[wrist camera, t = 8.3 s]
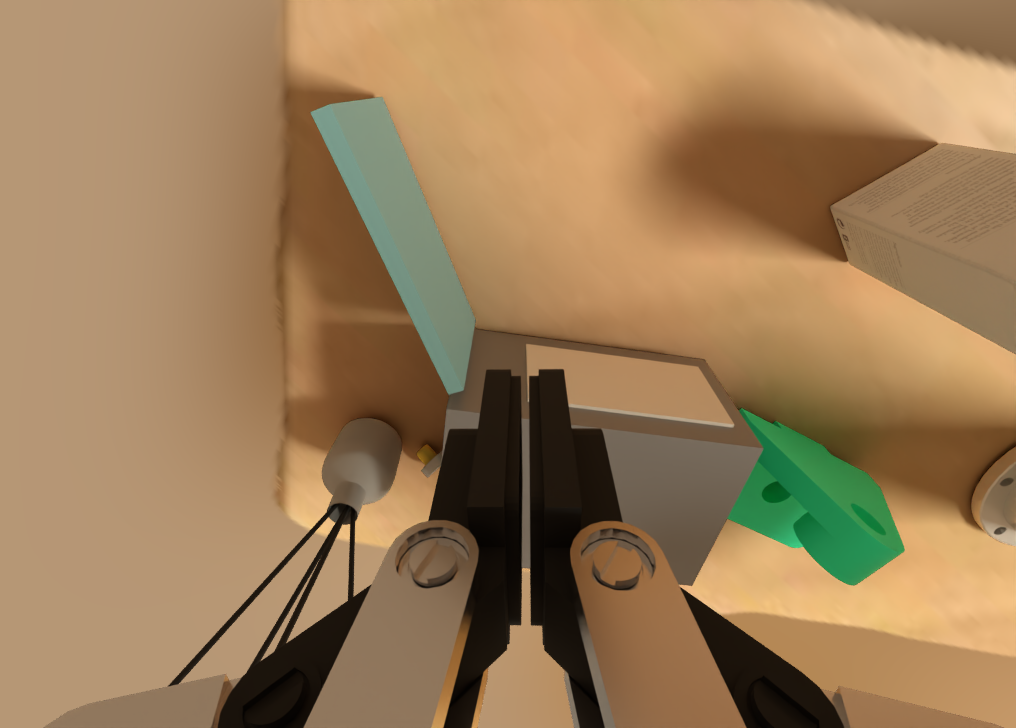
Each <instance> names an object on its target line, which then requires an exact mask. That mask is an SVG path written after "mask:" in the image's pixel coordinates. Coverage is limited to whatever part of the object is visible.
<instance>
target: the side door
mask: <svg viewBox="0 0 1016 728" xmlns="http://www.w3.org/2000/svg"><path fill="white" fill-rule="evenodd" d="M310 113H311V115H312V117H313V119H314V121H315V123H316V125H317V127H318V129H319V131H320V133H321V135H322V137H323V139H324V141H325V143H326V146H327V148H328V150H329V152H330V154H331V156H332V158H333V160H334V162H335V164H336V166H337V168H338V170H339V172H340V174H341V176H342V178H343V180H344V182H345V184H346V186H347V188H348V190H349V192H350V195H351V197H352V199H353V201H354V203H355V205H356V207H357V209H358V211H359V213H360V215H361V217H362V219H363V221H364V223H365V225H366V227H367V229H368V231H369V233H370V235H371V237H372V239H373V241H374V244H375V246H376V248H377V250H378V252H379V254H380V256H381V258H382V260H383V262H384V264H385V266H386V268H387V270H388V272H389V274H390V276H391V278H392V280H393V282H394V284H395V286H396V288H397V291H398V293H399V295H400V297H401V299H402V301H403V303H404V305H405V307H406V309H407V311H408V313H409V315H410V317H411V319H412V321H413V323H414V325H415V327H416V329H417V331H418V333H419V335H420V337H421V340H422V342H423V344H424V346H425V348H426V350H427V352H428V354H429V356H430V358H431V360H432V362H433V364H434V366H435V368H436V370H437V372H438V374H439V376H440V378H441V380H442V382H443V384H444V386H445V389H446V391H447V393H448V395H449V394H453V393H456V392H460V391H463V390H464V386H465V380H466V374H467V368H468V363H469V357H470V351H471V345H472V339H473V333H474V328H475V322H476V319H475V317H474V315H473V312H472V310H471V307H470V305H469V303H468V300H467V298H466V295H465V293H464V291H463V288H462V286H461V284H460V281H459V279H458V276H457V274H456V272H455V269H454V267H453V264H452V262H451V260H450V257H449V255H448V252H447V250H446V248H445V245H444V243H443V240H442V238H441V236H440V233H439V231H438V229H437V226H436V224H435V221H434V219H433V217H432V214H431V212H430V209H429V207H428V205H427V202H426V200H425V197H424V195H423V193H422V190H421V188H420V186H419V183H418V181H417V178H416V176H415V174H414V171H413V169H412V166H411V164H410V162H409V159H408V157H407V154H406V152H405V150H404V147H403V145H402V143H401V140H400V138H399V135H398V133H397V131H396V128H395V126H394V123H393V121H392V119H391V116H390V114H389V111H388V109H387V107H386V104H385V102H384V99H383V97H378V98H371V99H363V100H356V101H349V102H342V103H334V104H329V105H326V106H324V107H322V108H319V109H317V110H315V111H312V112H310Z"/></svg>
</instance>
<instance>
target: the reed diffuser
mask: <svg viewBox="0 0 1016 728" xmlns="http://www.w3.org/2000/svg"><path fill="white" fill-rule="evenodd" d="M401 451H402V442H401V439H400V436H399V435H398V433H397V432H396V431H395V430H394V429H393V428H392V427H391V426H390V425H388V424H387V423H385V422H383V421H380V420H377V419H373V418H360V419H355V420H353V421H351V422H349V423H347V424H346V425H345V426H344V427H343V428H342V430H341V432H340V433H339V435H338V437H337V439H336V440H335V442H334V444H333V445H332V447H331V449H330V451H329V453H328V454H327V456H326V458H325V461H324V464H323V467H322V479H323V482H324V485H325V486H326V488H327V489H328V491H329V492H330V493H331V494H332V495H333V497H332V499H331V502H330V504H329V507H328V509H327V513H326V514H325V515H324V516H323V517H322V518H321V519H320V520H319V521H318V522H317V523H316V525H315V526H314V527H313V528H312V529H311V530H310V531H309V532H308V533H307V534H306V536H305V537H304V538H303V539H302V540H301V541H300V542H299V543H298V544H297V546H295V548H294V549H293V550H292V551H291V552H290V553H289V554H288V555H287V556H286V557H285V559H284V560H283V561H282V562H281V563H280V564H279V565H278V566H277V567H276V569H275V570H274V571H273V572H272V573H271V574H270V575H269V576H268V577H267V578H266V579H265V580H264V582H263V583H262V584H261V585H260V586H259V587H258V588H257V589H256V590H255V591H254V593H253V594H252V595H251V596H250V597H249V598H248V599H247V600H246V602H244V604H243V605H242V606H241V607H240V608H239V609H238V610H237V611H236V612H235V613H234V615H233V616H232V617H231V618H230V619H229V620H228V621H227V622H226V623H225V624H224V626H223V627H222V628H221V629H220V630H219V631H218V632H217V633H216V634H215V635H214V636H213V638H212V639H211V640H210V641H209V642H208V643H207V644H206V645H205V646H204V647H203V648H202V650H201V651H200V652H199V653H198V654H197V655H196V656H195V657H194V658H193V659H192V660H191V662H190V663H189V664H188V665H187V666H186V667H185V668H184V669H183V670H182V671H181V673H180V674H179V675H178V676H177V677H176V678H175V679H174V680H173V681H172V683H171V684H170V685H169V686H173V685H178V684H179V683H180V682H181V681H182V680H183V678H184V677H185V676H186V675H187V674H188V673H189V672H190V671H191V669H193V667H194V666H195V665H196V664H197V663H198V662H199V661H200V660H201V658H202V657H203V656H204V655H205V654H206V653H207V652H208V651H209V649H210V648H211V647H212V646H213V645H214V644H215V643H216V642H217V641H218V640H219V638H220V637H221V636H222V635H223V634H224V633H225V632H226V631H227V629H228V628H229V627H230V626H231V625H232V624H233V623H234V622H235V621H236V619H237V618H238V617H239V616H240V615H241V614H242V613H243V612H244V611H245V609H246V608H247V607H248V606H249V605H250V604H251V603H252V602H253V601H254V599H255V598H256V597H257V596H258V595H259V594H260V592H262V590H263V589H264V588H265V587H266V586H267V585H268V584H269V583H270V582H271V580H272V579H273V578H274V577H275V576H276V575H277V574H278V573H279V571H280V570H281V569H282V568H283V567H284V566H285V565H286V564H287V563H288V561H289V560H290V559H291V558H292V557H293V556H294V555H295V554H296V553H297V551H298V550H299V549H300V548H301V547H302V546H303V545H304V544H305V543H306V541H307V540H308V539H309V538H310V537H311V536H312V535H313V534H314V532H315V531H316V530H317V529H318V528H319V527H320V526H321V525H322V524H323V522H324V521H325V520H326V519H327V518H328V517H329V518H330V519H331V520H332V521H334V522H336V523H335V525H334V526H333V528H332V530H331V532H330V533H329V535H328V537H327V538H326V540H325V542H324V543H323V545H322V547H321V548H320V550H319V552H318V553H317V555H316V557H315V558H314V560H313V562H312V563H311V565H310V567H309V568H308V570H307V572H306V574H305V575H304V577H303V579H302V580H301V582H300V584H299V585H298V587H297V589H296V591H295V592H294V594H293V595H292V597H291V599H290V601H289V602H288V604H287V605H286V607H285V609H284V610H283V612H282V614H281V616H280V617H279V619H278V621H277V622H276V624H275V626H274V627H273V629H272V631H271V632H270V634H269V636H268V638H267V639H266V641H265V642H264V644H263V646H262V648H261V649H260V651H259V652H258V654H257V656H256V658H255V659H254V661H253V663H252V664H251V666H250V668H249V669H248V671H250V670H251V669H252V668H253V667H254V666H255V665H257V664H258V663H259V662H260V661H261V659H262V657H263V656H264V654H265V652H266V650H267V649H268V647H269V645H270V644H271V642H272V640H273V638H274V637H275V635H276V633H277V631H278V630H279V628H280V626H281V625H282V623H283V621H284V619H285V618H286V616H287V614H288V613H289V611H290V609H291V607H292V606H293V604H294V602H295V600H296V599H297V597H298V595H299V594H300V592H301V590H302V588H303V587H304V585H305V583H306V582H307V580H308V578H309V577H310V575H311V573H312V571H313V570H314V568H315V566H316V564H317V562H318V561H319V562H318V564H317V566H316V569H315V571H314V573H313V574H312V577H311V578H310V581H309V583H308V585H307V587H306V589H305V591H304V593H303V595H302V597H301V599H300V601H299V603H298V605H297V607H296V609H295V611H294V613H293V615H292V617H291V619H290V621H289V623H288V625H287V627H286V629H285V631H284V633H283V635H282V637H281V639H280V641H279V643H278V645H277V647H276V649H275V651H276V650H278V649H279V648H281V647H282V646H283V645H285V644H286V642H287V640H288V638H289V636H290V633H291V631H292V629H293V627H294V625H295V623H296V621H297V619H298V616H299V614H300V612H301V610H302V608H303V606H304V604H305V602H306V600H307V598H308V595H309V593H310V591H311V589H312V587H313V585H314V583H315V581H316V579H317V577H318V574H319V572H320V570H321V568H322V566H323V564H324V562H325V560H326V558H327V556H328V553H329V551H330V549H331V547H332V545H333V543H334V541H335V539H336V537H337V535H338V532H339V530H340V528H341V526H342V524H343V525H347V524H350V553H349V585H348V600H350V599H351V598H353V591H354V590H353V589H354V546H355V521H356V519H357V517H358V515H359V512H360V510H361V507H362V505H365V504H370V503H373V502H376V501H378V500H380V499H381V498H382V497H384V496H385V495H386V494H387V493H388V491H389V490H390V488H391V486H392V484H393V481H394V479H395V475H396V471H397V467H398V464H399V460H400V455H401ZM442 451H443V450H442ZM442 451H441V452H440V453H439V454H436V453H435V452H434V451H433V449H432V448H431V447H430V446H429V445H425V446H423V447H422V448H421V449H420V450H419V451H418V452H417V456H418V458H419V459H420V460H421V461H422V462H423V463H424V464H425V465H426V466H425V467H424V468H423V469H422V470H421V471H422V472H423V473H424V474H425V476H426V477H427V478H428V477H429V476H430V475H431V474H433V473H434V472H435V471H436V470H437V469H438V468H439V467H440V466H441V461H442ZM319 559H320V560H319ZM275 651H274V652H275ZM248 671H247V672H248Z"/></svg>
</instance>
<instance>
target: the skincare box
mask: <svg viewBox="0 0 1016 728" xmlns="http://www.w3.org/2000/svg"><path fill="white" fill-rule="evenodd" d="M830 209H831V212H832V215H833V218H834V221H835V224H836V226H837V229H838V232H839V235H840V238H841V241H842V244H843V247H844V250H845V252H846V255H847V259H848V261H849V263H850V265H852V266H854V267H855V268H857V269H859V270H861V271H863V272H865V273H867V274H868V275H870V276H872V277H874V278H876V279H878V280H879V281H881V282H883V283H885V284H887V285H889V286H890V287H892V288H894V289H896V290H898V291H900V292H902V293H904V294H905V295H907V296H909V297H911V298H913V299H915V300H916V301H918V302H920V303H922V304H924V305H926V306H927V307H929V308H931V309H933V310H935V311H937V312H938V313H940V314H942V315H944V316H946V317H948V318H950V319H951V320H953V321H955V322H957V323H959V324H961V325H962V326H964V327H966V328H968V329H970V330H972V331H973V332H975V333H977V334H979V335H981V336H983V337H985V338H986V339H988V340H990V341H992V342H994V343H996V344H998V345H999V346H1001V347H1003V348H1005V349H1007V350H1008V351H1010V352H1012V353H1014V354H1016V154H1012V153H1006V152H999V151H992V150H987V149H979V148H973V147H967V146H960V145H953V144H947V143H940V144H938V145H937V146H935V147H933V148H931V149H930V150H928V151H926V152H925V153H923V154H921V155H919V156H918V157H916V158H914V159H912V160H911V161H909V162H907V163H905V164H904V165H902V166H900V167H898V168H897V169H895V170H893V171H891V172H890V173H888V174H886V175H884V176H882V177H881V178H879V179H877V180H875V181H874V182H872V183H870V184H868V185H867V186H865V187H863V188H861V189H860V190H858V191H856V192H854V193H853V194H851V195H849V196H847V197H846V198H844V199H842V200H840V201H838V202H837V203H835V204H833V205H831V206H830Z"/></svg>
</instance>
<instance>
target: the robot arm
mask: <svg viewBox="0 0 1016 728" xmlns="http://www.w3.org/2000/svg"><path fill="white" fill-rule="evenodd" d="M529 463H530V585H531V625H537V626H538V625H540V626H542V628H543V629H542V630H543V631H542V632H543V645H544V650H545V651H546V652H547V653H548V654H549V655H550V656H551V657H552V658H553V659H554V660H555V661H556V662H557V663H558V664H559V665H560V666H561V667H562V668H563V669H564V681H565V685H566V690H567V695H568V700H569V705H570V710H571V714H572V719H573V724H574V728H1003V727H1001V726H998V725H995V724H992V723H988V722H984V721H980V720H976V719H972V718H968V717H963V716H959V715H955V714H951V713H947V712H943V711H939V710H935V709H930V708H926V707H923V706H918V705H915V704H911V703H906V702H902V701H898V700H894V699H890V698H886V697H882V696H878V695H873V694H870V693H865V692H861V691H857V690H853V689H849V688H845V687H841V686H839V687H838V689H837V690H836V692H831V691H826V690H823V689H820V688H819V687H818V686H817V685H816V684H815V683H814V682H813V681H811V680H810V679H809V678H808V677H806V676H805V675H804V674H803V673H802V672H800V671H799V670H798V669H796V668H795V667H793V666H792V665H791V664H789V663H788V662H786V661H785V660H783V659H782V658H781V657H779V656H778V655H776V654H775V653H773V652H772V651H771V650H769V649H768V648H766V647H765V646H764V645H762V644H761V643H759V642H758V641H756V640H755V639H753V638H752V637H751V636H749V635H748V634H746V633H745V632H744V631H742V630H741V629H739V628H738V627H736V626H735V625H734V624H732V623H731V622H729V621H728V620H726V619H725V618H723V617H722V616H721V615H719V614H718V613H717V612H715V611H714V610H712V609H711V608H709V607H708V606H707V605H705V604H704V603H702V602H701V601H699V600H698V599H697V598H695V597H694V596H692V595H691V594H689V593H688V592H687V591H685V590H684V589H682V588H681V587H680V586H679V585H678V582H677V580H676V578H675V576H674V574H673V572H672V570H671V568H670V566H669V563H668V561H667V559H666V557H665V555H664V553H663V551H662V550H661V548H660V547H659V545H658V544H657V542H656V541H655V540H654V539H653V538H652V537H651V536H649V535H648V534H647V533H646V532H645V531H643V530H641V529H639V528H637V527H635V526H633V525H631V524H627V523H623V521H622V516H621V512H620V507H619V502H618V498H617V493H616V489H615V484H614V480H613V475H612V471H611V466H610V462H609V457H608V452H607V448H606V443H605V439H604V434H603V431H602V429H601V428H571V420H570V412H569V405H568V397H567V390H566V382H565V374H564V369H539V375H538V376H529ZM522 492H523V470H522V406H521V376H512V374H511V369H489V370H486V374H485V381H484V388H483V395H482V403H481V410H480V417H479V424H478V429H450V430H449V432H448V435H447V440H446V444H445V449H444V453H443V458H442V462H441V467H440V471H439V476H438V480H437V485H436V489H435V494H434V498H433V502H432V507H431V511H430V516H429V520H428V521H427V522H423V523H419V524H417V525H415V526H413V527H411V528H409V529H407V530H405V531H404V532H403V533H402V534H401V535H400V536H398V537H397V538H396V539H395V541H394V542H393V544H392V545H391V547H390V548H389V550H388V552H387V554H386V556H385V558H384V560H383V562H382V564H381V566H380V569H379V571H378V573H377V575H376V577H375V579H374V581H373V583H372V585H370V586H369V587H367V588H366V589H364V590H363V591H361V592H360V593H358V594H357V595H356V596H354V597H353V598H351V599H350V600H348V601H347V602H345V603H344V604H343V605H341V606H340V607H338V608H337V609H336V610H334V611H332V612H331V613H330V614H328V615H327V616H325V617H324V618H322V619H321V620H320V621H318V622H317V623H315V624H314V625H312V626H311V627H309V628H308V629H307V630H305V631H304V632H302V633H301V634H299V635H298V636H296V638H294V639H292V640H291V641H289V642H288V643H286V644H285V645H283V646H282V647H281V648H279V649H278V650H276V651H275V652H273V653H272V654H271V655H269V656H268V657H266V658H265V659H263V660H262V661H260V662H259V663H258V664H257V665H255V666H254V667H253V668H252V669H251V670H250V671H248V672H247V673H246V674H245V675H244V676H243V677H242V678H239V679H234V680H229V679H228V677H227V675H226V674H224V675H219V676H214V677H210V678H205V679H201V680H196V681H191V682H187V683H182V684H178V685H173V686H168V687H164V688H159V689H155V690H150V691H146V692H141V693H136V694H131V695H127V696H122V697H118V698H113V699H109V700H104V701H99V702H95V703H90V704H87V705H84V706H81V707H79V708H76V709H73V710H71V711H68V712H67V713H65V714H63V715H62V716H60V717H59V718H57V719H56V720H54V721H53V722H51V723H49V724H48V725H46V726H45V727H44V728H478V723H479V718H480V713H481V709H482V704H483V699H484V694H485V690H486V685H487V680H488V667H489V666H490V665H491V664H492V663H493V662H494V661H495V660H496V659H497V658H498V657H500V656H501V655H502V654H503V653H504V652H505V651H506V650H507V644H509V640H510V625H521V599H522V593H521V592H522V589H521V588H522ZM971 510H972V514H973V518H974V520H975V521H976V522H977V524H978V525H979V526H980V527H981V528H982V529H983V530H984V531H985V532H986V533H987V534H988V535H989V536H990V537H992V538H994V539H995V540H997V541H999V542H1001V543H1005V544H1008V545H1012V546H1016V447H1014V448H1013V449H1011V450H1010V451H1008V452H1007V453H1006V454H1005V455H1003V456H1002V457H1001V458H1000V459H999V460H997V461H996V462H995V463H994V464H993V465H992V466H991V467H990V469H989V470H988V471H987V472H986V473H985V474H984V475H983V477H982V478H981V480H980V482H979V483H978V485H977V486H976V489H975V492H974V494H973V497H972V504H971Z"/></svg>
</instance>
